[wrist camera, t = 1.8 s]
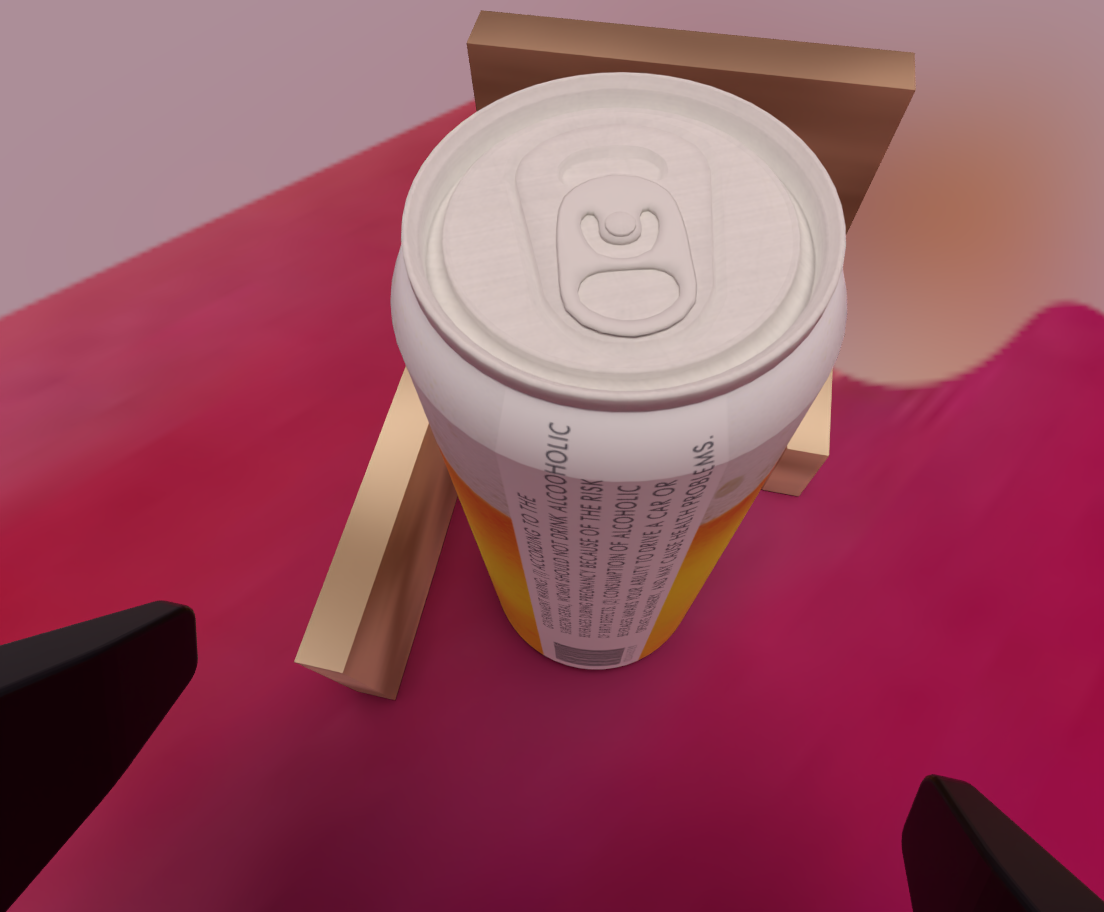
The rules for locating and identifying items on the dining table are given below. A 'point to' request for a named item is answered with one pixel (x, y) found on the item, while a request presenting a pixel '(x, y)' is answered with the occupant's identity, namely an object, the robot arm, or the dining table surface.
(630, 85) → the beer can
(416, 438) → the shelf
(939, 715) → the dining table surface
